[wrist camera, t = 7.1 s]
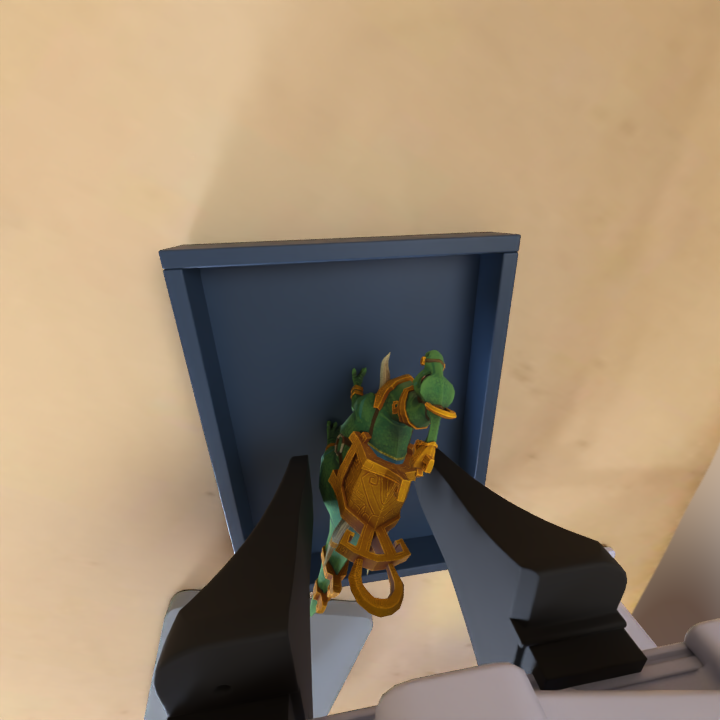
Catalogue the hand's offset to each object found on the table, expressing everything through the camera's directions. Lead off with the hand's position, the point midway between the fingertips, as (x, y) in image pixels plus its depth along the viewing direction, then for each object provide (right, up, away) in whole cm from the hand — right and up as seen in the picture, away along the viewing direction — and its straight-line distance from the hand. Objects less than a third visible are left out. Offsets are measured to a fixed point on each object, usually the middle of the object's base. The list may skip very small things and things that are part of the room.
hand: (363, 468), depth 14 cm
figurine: (-1, +1, +3) cm, 3 cm away
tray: (0, +1, +3) cm, 3 cm away
